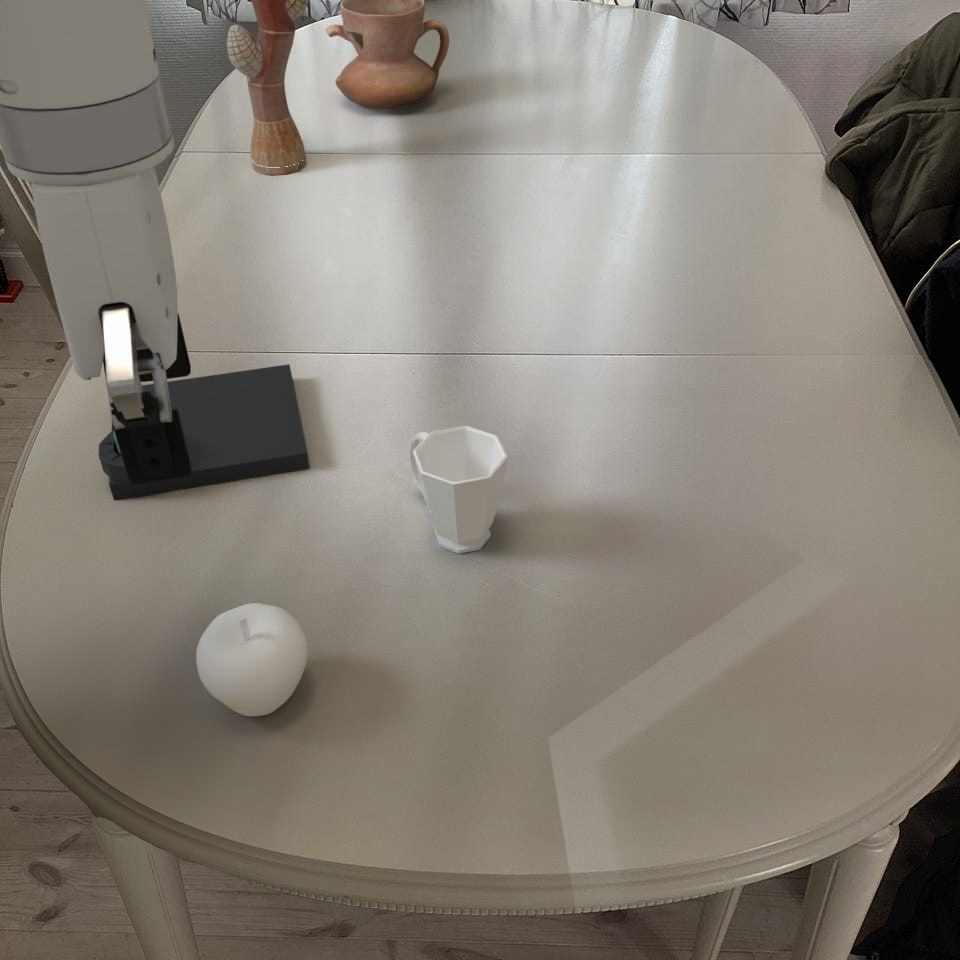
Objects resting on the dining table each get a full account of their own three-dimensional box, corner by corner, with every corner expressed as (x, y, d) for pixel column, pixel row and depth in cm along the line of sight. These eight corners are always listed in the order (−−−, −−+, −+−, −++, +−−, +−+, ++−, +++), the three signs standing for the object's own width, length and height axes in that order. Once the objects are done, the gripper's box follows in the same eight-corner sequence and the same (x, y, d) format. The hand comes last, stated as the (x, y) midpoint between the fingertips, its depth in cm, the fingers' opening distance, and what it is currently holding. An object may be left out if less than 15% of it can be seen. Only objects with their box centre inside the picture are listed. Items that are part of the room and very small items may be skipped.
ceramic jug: (335, 122, 148) (324, 18, 139) (331, 88, 159) (321, -9, 150) (457, 114, 150) (455, 11, 141) (445, 81, 161) (442, -16, 152)
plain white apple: (201, 740, 65) (175, 658, 60) (214, 655, 70) (191, 572, 65) (311, 732, 65) (295, 649, 60) (316, 648, 71) (302, 565, 65)
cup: (453, 579, 76) (450, 497, 70) (378, 510, 82) (370, 430, 77) (526, 538, 79) (527, 457, 74) (448, 475, 85) (445, 396, 80)
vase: (244, 176, 133) (201, -81, 114) (252, 154, 139) (213, -94, 120) (324, 174, 134) (295, -82, 114) (329, 152, 139) (302, -95, 120)
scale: (108, 504, 83) (97, 471, 80) (112, 405, 93) (103, 373, 91) (310, 471, 86) (305, 438, 83) (291, 379, 96) (286, 347, 94)
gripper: (21, 70, 52) (104, 352, 63) (-33, 210, 39) (83, 535, 50) (170, 58, 54) (226, 337, 65) (165, 190, 41) (236, 512, 51)
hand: (163, 423), depth 57 cm, fingers open, 9 cm apart
